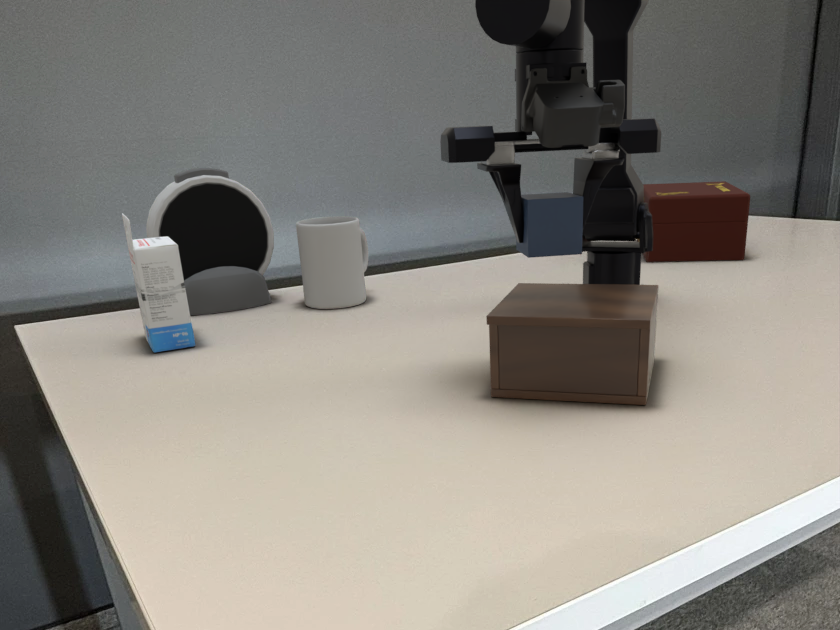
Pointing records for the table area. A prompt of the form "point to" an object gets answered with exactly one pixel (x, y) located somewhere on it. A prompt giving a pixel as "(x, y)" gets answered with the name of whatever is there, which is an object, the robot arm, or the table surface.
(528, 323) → the lid
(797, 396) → the table surface
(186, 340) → the ink box
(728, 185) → the box
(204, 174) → the alarm clock
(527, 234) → the block
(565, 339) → the box
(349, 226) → the mug
